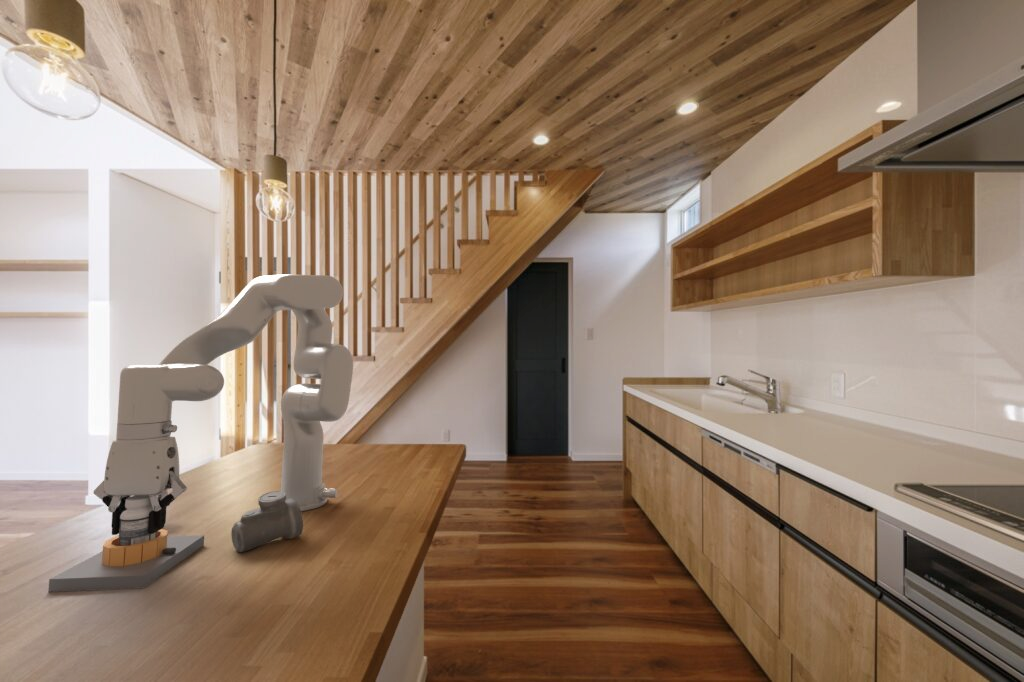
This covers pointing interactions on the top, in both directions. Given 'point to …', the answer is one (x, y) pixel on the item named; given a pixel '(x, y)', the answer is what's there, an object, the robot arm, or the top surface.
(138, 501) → the pill bottle
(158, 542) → the plate
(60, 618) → the top surface
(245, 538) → the pipe fitting
